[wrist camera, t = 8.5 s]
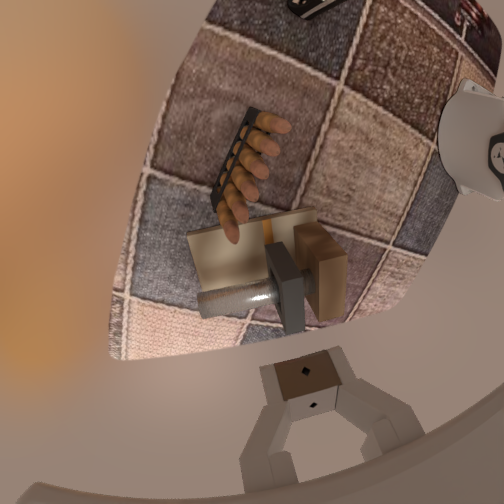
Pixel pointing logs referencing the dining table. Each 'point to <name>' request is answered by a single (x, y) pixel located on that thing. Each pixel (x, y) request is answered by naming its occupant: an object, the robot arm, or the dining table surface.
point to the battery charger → (312, 7)
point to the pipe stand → (254, 258)
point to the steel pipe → (246, 295)
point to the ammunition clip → (245, 169)
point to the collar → (287, 287)
